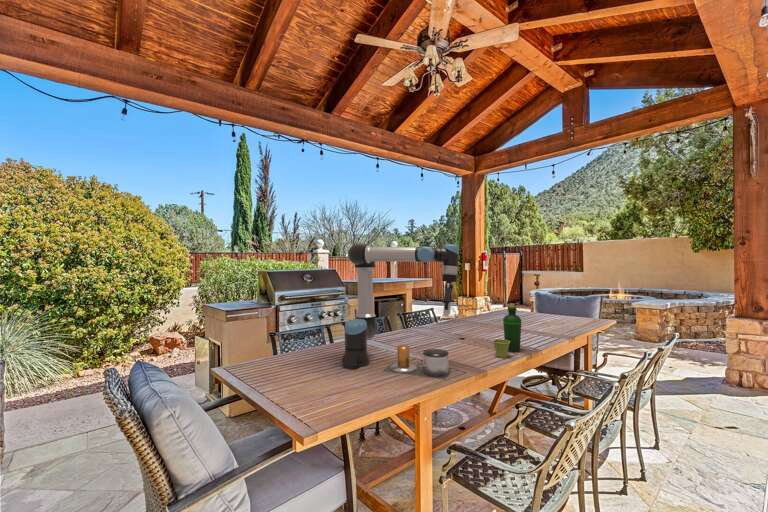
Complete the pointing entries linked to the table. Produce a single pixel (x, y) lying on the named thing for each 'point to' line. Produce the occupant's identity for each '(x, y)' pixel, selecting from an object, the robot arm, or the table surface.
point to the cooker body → (435, 363)
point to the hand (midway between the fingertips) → (446, 315)
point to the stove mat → (416, 372)
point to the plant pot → (501, 347)
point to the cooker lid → (403, 361)
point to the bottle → (512, 329)
